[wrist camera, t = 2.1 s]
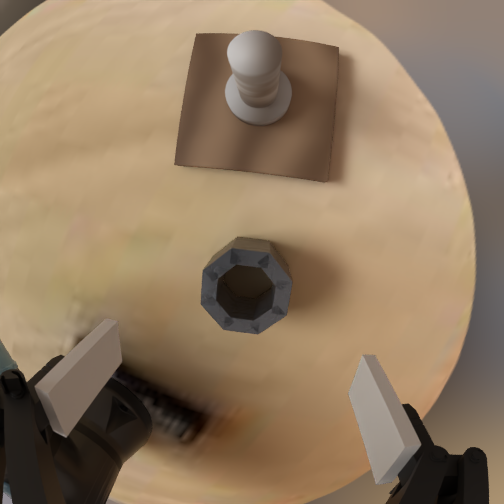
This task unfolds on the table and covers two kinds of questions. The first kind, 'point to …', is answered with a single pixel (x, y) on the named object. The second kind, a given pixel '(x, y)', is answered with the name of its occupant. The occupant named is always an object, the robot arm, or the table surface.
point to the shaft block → (259, 105)
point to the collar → (242, 308)
